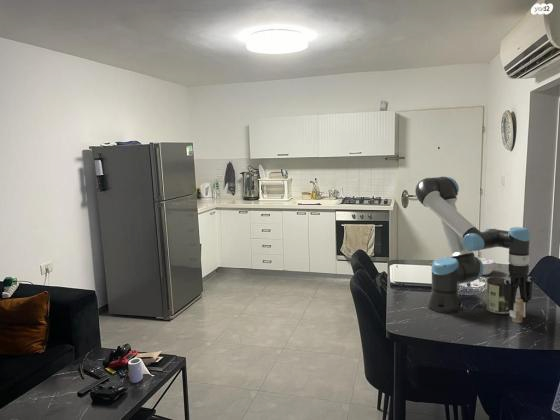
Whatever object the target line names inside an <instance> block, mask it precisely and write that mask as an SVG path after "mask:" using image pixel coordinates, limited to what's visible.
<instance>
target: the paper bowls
mask: <svg viewBox="0 0 560 420" xmlns="http://www.w3.org/2000/svg"><path fill="white" fill-rule="evenodd" d="M477 258H478V259H480V260H481V262H482V264H483V274H482V275H481V276H488V275H490V274H491V273H492V271H495V270H496V261H495V260H494V259H492V258H487V257H477Z"/></svg>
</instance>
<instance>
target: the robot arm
mask: <svg viewBox="0 0 560 420" xmlns="http://www.w3.org/2000/svg"><path fill="white" fill-rule="evenodd" d="M459 191H460V187H459V184H458V182H457V181H456V179H454V178H453V177H450V176H438V177H426V178H423V179H421V180H420V181H418V183H417V184H416V186H415V191H414V192H415V195H416V196H415V197H416V199H417V200H418V201H419V203H420V204H421V205H422V206H423V207H425V208H429V210H431V211H432V212H433V213H434V214H435V215H436V216H437V217H438V218H439V219H440V221H441V225H442V227H443V231H444V234H445V237H446V242H447V244H448V249H449V252H450V254H449V257H440V258H436V259H434V260H433V261H432V262H431V263H432V265H431V292H430V294H429V298H428V300H427V307H428V309H430V308H431V309H430V310H432V309H433V310H432V311H434V310H435V311H434V312H437V311H438V312H439V313H444V314H454V313H459V312H460V311H462V310H463V309H462V306H463V305H462V301H461V298H460V295H459V285H461V284H467V283H470V282H471V283H472V282H475V281H477V280H479V279H480V278H481V277H482V276H483V275H482V274H483V264H482V262H481V260H480V259H478V258H479V257H478V256H475V253H474V252H478V251H482V250H487V249H493V248H505V249H508V269H507V270H508V272H509V275H508V277H507V278H504V279H503V283H504V300H505V301H507V302H509V310H510V313H509V317H511V318H512V317H513V318H516V303H515V298H516V296H517V291H519V295H520V298H522V299H523V315H522V318H526V309H527V307H528V305H527V304H528V303H529V301H532V293H533V283H534V280H535V279H534V277H532V276H529V275H528V274H529V273H530V265H529V264H530V241H531V237H530V230H529V228H526V227H520V226H519V227H518V226H515V227H510V228H509V230H503V229H497V228H486V229H485V230H483V231H480V230H479V229H478V228H477V227H476V226H474V224H472V223H471V222H470V221H469V220H468V219H467V218H466V217H465V216H463V214H461V213H460V212H459V211H458V209H457V206H456V203H457V200H458V198H457V196H458V195H459ZM510 281H511V282H510ZM518 289H519V290H518Z"/></svg>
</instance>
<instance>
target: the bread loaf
mask: <svg viewBox="0 0 560 420" xmlns="http://www.w3.org/2000/svg"><path fill="white" fill-rule="evenodd" d="M515 303H516V318H513V317H511V322H513V323H515V324H522V323H523V317H522V315H523V299H522V298H521V297H516V298H515Z"/></svg>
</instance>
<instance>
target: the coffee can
mask: <svg viewBox="0 0 560 420" xmlns="http://www.w3.org/2000/svg"><path fill="white" fill-rule="evenodd" d="M503 279H505V278H504V277H489V278H486V310H487V311H489V312H491V313H495V314H500V315H501V314H504V315H505V314H510V310H509V302H507V301H505V300H504V283H503ZM510 282H511V281H510Z"/></svg>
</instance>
